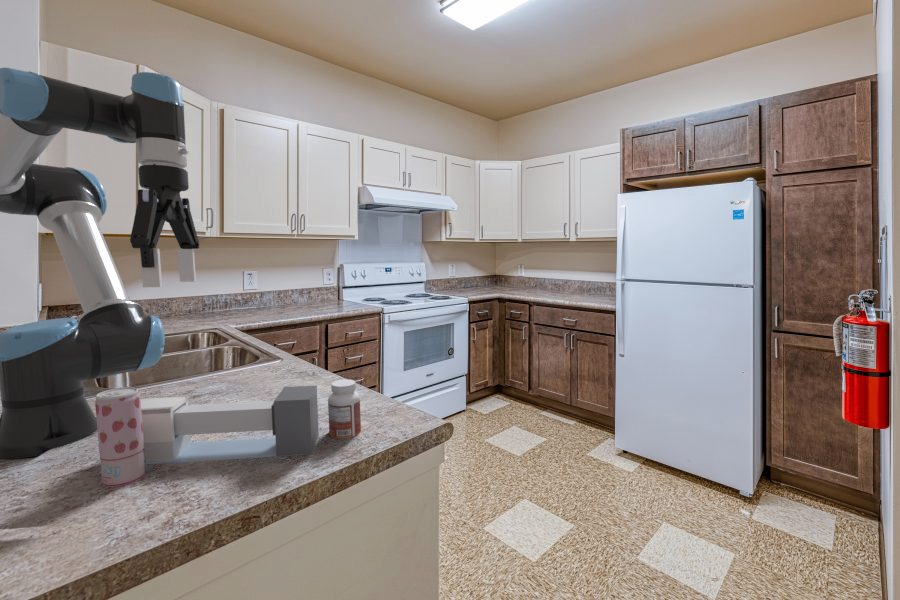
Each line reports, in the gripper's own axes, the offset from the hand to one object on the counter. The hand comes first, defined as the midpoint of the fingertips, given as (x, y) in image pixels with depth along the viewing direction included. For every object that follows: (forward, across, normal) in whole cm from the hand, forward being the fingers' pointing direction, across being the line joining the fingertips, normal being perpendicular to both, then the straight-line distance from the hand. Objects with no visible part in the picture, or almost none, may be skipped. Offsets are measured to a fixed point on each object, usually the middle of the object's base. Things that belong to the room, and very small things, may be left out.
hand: (171, 284), depth 82 cm
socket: (+30, -7, -23) cm, 38 cm away
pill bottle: (+31, -2, -31) cm, 44 cm away
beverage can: (+31, -15, +2) cm, 34 cm away
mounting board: (+31, -7, -10) cm, 33 cm away
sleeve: (+30, -7, +2) cm, 31 cm away
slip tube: (+26, -7, -12) cm, 30 cm away
